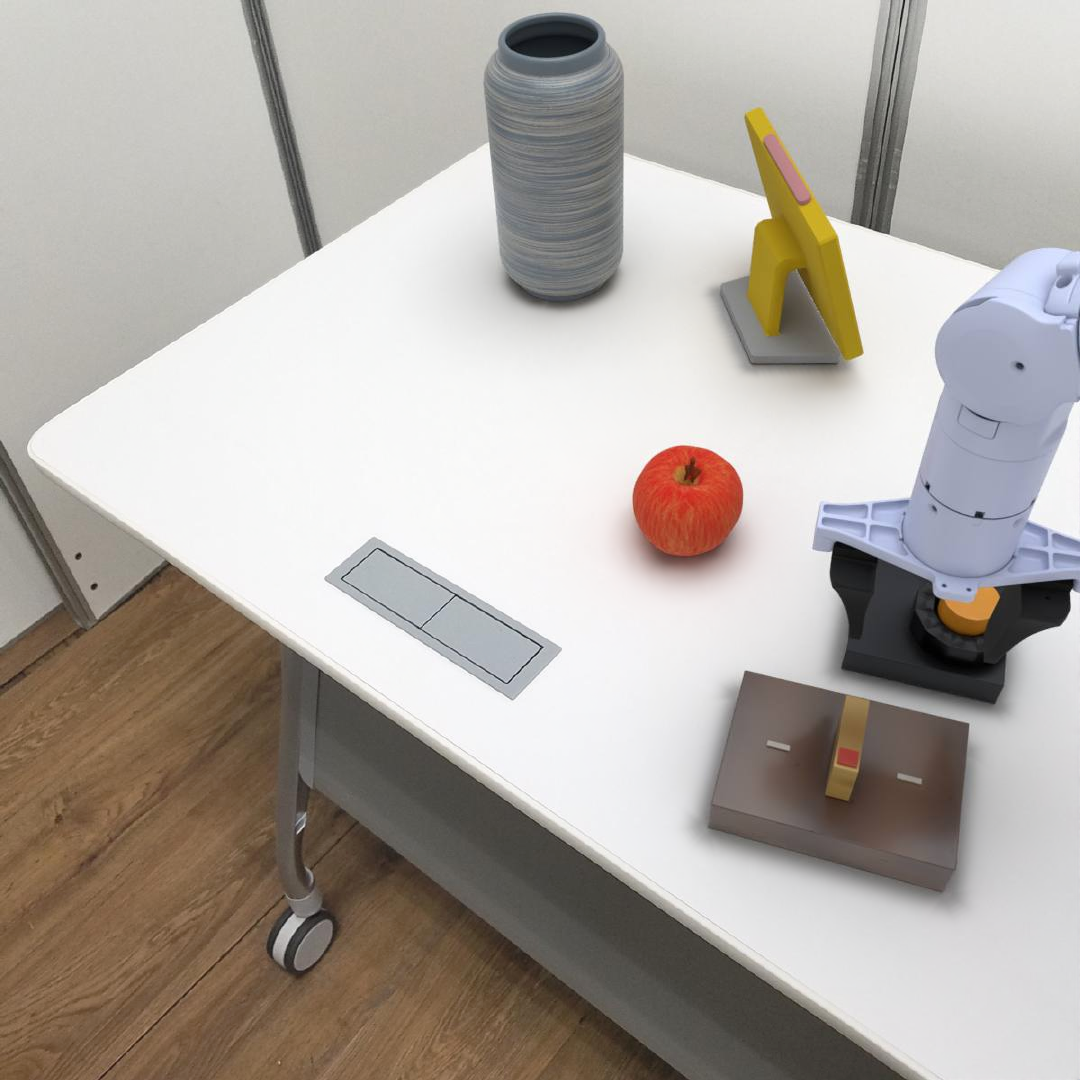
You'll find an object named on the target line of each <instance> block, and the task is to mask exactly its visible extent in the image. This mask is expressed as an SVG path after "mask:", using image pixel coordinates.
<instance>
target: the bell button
mask: <svg viewBox="0 0 1080 1080" xmlns="http://www.w3.org/2000/svg"><path fill="white" fill-rule="evenodd" d="M999 598H1000V596H999V594H998V592H997V591H996V590H995V589H994V587H985V588H978V591H977V594H976V596H975V599H974V601H972V602H970V603H963V602H957V601H951V600H945V599H940V602H939V604H938V614H939V617H940V619H941V621H942V622H943V623H944V624H945V625H946V626H947V627H948V628H949V629H951V630H952V631H954V632H956V633H959V634H962V635H967V636H976V635H981V634H983V633H985V629H986V626H987V623H988V620H989V618H990V616H991V614H992V612H993V610H994V608H995V606H996V604H997V602H998V600H999Z"/></svg>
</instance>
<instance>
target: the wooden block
mask: <svg viewBox="0 0 1080 1080" xmlns="http://www.w3.org/2000/svg"><path fill="white" fill-rule="evenodd" d="M849 695H850V694H847V695H846V698H845V701H844V705H843V708H842V712H841V715H840V719H839V722H838V726H837V731H836V736H835V742H834V747H833V753H832V758H831V764H830V769H829V775H828V780H827V786H826V791H825V795H827V796H831V797H834V798H838V799H842V800H846V801H849V799H850V796H851V793H852V790H853V787H854V784H855V781H856V778H857V775H858V772H859V765H860V759H861V753H862V747H863V741H864V735H865V729H866V723H867V717H868V711H869V705H870V701H869V700H870V699H868V700H866V699H867V698H864V699H861V698H862V697H860V698H857V697H858V696H856V697H853V696H854V695H851V696H849Z"/></svg>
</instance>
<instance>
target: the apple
mask: <svg viewBox="0 0 1080 1080" xmlns="http://www.w3.org/2000/svg"><path fill="white" fill-rule="evenodd" d="M631 499H632V501H631V502H632V511H633V515H634V519H635V521H636V523H637V526H638V528H639V530H640V531H641V533H642V534H643V535H644V536H645V538H646V539H647V541H649V542H650V544H651V545H653V546H654V547H656V549H658V550H659V551H661V552H663V553H665V554H668V555H672V556H678V557H692V556H697V555H701V554H704V553H707V552H709V551H710V552H711V550H713V549H716V548H717V547H718V546H720V545H721V544H722V543H723V542H724V541H725V540H726V539H727V538H728V536H729V535H730V534H731V532H732V530H733V529H734V528H735V526H736V524H737V523H738V522H739V520H740V518H741V515H742V511H743V506H744V488H743V483H742V480H741V477H740V475H739V473H738V472H737V470H736V468H735V467H734V466H733V465H732V464H731V463H730V462H729V461H727V460H726V459H725V458H723V457H722V456H720V455H719V454H718V453H717V452H715V451H713V450H711V449H708V448H705V447H701V446H694V445H687V444H686V445H685V444H681V445H674V446H670V447H668V448H665V449H664V450H661V451H660V452H658V453H657V454H655V455H654V456H653V457H651V458H650V459H649V461H648V462H647V463H646V464H645V465H644V467H643V469H642V470H641V472H640V473H639V474H638V477H637V478H636V480H635V482H634V486H633V490H632V497H631Z"/></svg>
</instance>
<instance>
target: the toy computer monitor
mask: <svg viewBox="0 0 1080 1080" xmlns="http://www.w3.org/2000/svg"><path fill="white" fill-rule="evenodd" d="M743 119H744V122H745V126H746V129H747V133H748V137H749V140H750V144H751V148H752V151H753V155H754V159H755V162H756V165H757V170H758V173H759V175H760V176H759V177H760V180H761V184H762V188H763V190H764V191H763V192H764V194H765V199H766V202H767V205H768V209H769V212H770V216H771V218H764V219H762V220H761V221H759V222H758V223H757V224H756V225H755V227H754V232H753V241H752V249H751V260H750V269H749V275H746V276H743V277H739V278H735V279H733V280H728V281H725V282H722V283H721V284H720V286H719V287H720V288H719V294H720V295H721V298H722V300H723V303H724V304H725V307H726V309H727V312H728V314H729V316H730V318H731V320H732V323H733V324H734V327H735V329H736V332H737V334H738V336H739V339H740V341H741V343H742V346H743V348H744V350H745V353H746V354H747V357H748V359H749V361H750V363H751V364H838V363H839V362H840V359H841V356H842V358H843V359H844V360H845V361H846V362H849V361H852V360H854V359H856V358H859V357H861V356H863V355H864V353H865V352H864V348H863V343H862V338H861V334H860V328H859V325H858V321H857V316H856V311H855V307H854V303H853V298H852V293H851V289H850V285H849V280H848V276H847V271H846V267H845V262H844V257H843V253H842V248H841V243H840V240H839V235H838V233H837V232H836V230H835V229H834V227H833V225H832V223H831V222H830V220H829V218H828V217H827V215H826V213H825V212H824V210H823V209H822V206H821V205H820V203H819V201H818V200H817V198H816V197H815V195H814V193H813V191H812V190H811V188H810V186H809V184H808V183H807V181H806V180H805V178H804V176H803V175H802V173H801V171H800V170H799V168H798V166H797V165H796V163H795V162H794V160H793V158H792V156H791V155H790V153H789V152H788V150H787V148H786V147H785V145H784V143H783V141H782V140H781V138H780V136H779V135H778V132H777V131H776V129H775V128H774V125H773V124H772V123H771V121H770V119H769V117H768V116H767V114H766V113H765V111H764V109H763V108H762V107H761V106H758V107H756V108H753V109H751V110H749V111H747V112H745V113H744V117H743Z"/></svg>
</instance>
